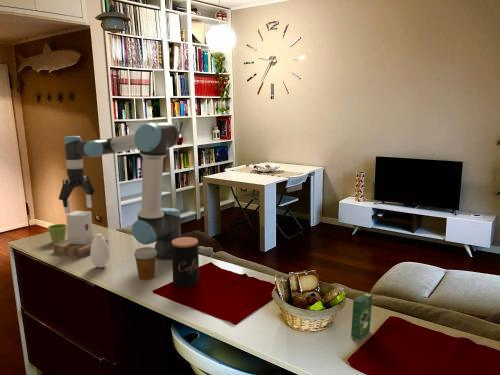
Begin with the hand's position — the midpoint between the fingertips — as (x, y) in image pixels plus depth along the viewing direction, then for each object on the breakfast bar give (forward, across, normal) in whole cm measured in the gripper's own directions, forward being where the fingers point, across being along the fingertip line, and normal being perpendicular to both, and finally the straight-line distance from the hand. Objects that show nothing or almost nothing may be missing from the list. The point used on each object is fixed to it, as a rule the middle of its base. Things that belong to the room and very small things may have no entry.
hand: (78, 210), depth 206 cm
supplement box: (+17, 0, -1) cm, 17 cm away
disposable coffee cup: (+22, +13, +51) cm, 57 cm away
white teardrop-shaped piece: (+21, +13, +25) cm, 35 cm away
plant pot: (+20, -3, -21) cm, 29 cm away
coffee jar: (+22, +10, +69) cm, 73 cm away
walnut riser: (+20, 0, -1) cm, 21 cm away
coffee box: (+23, +19, +142) cm, 145 cm away
